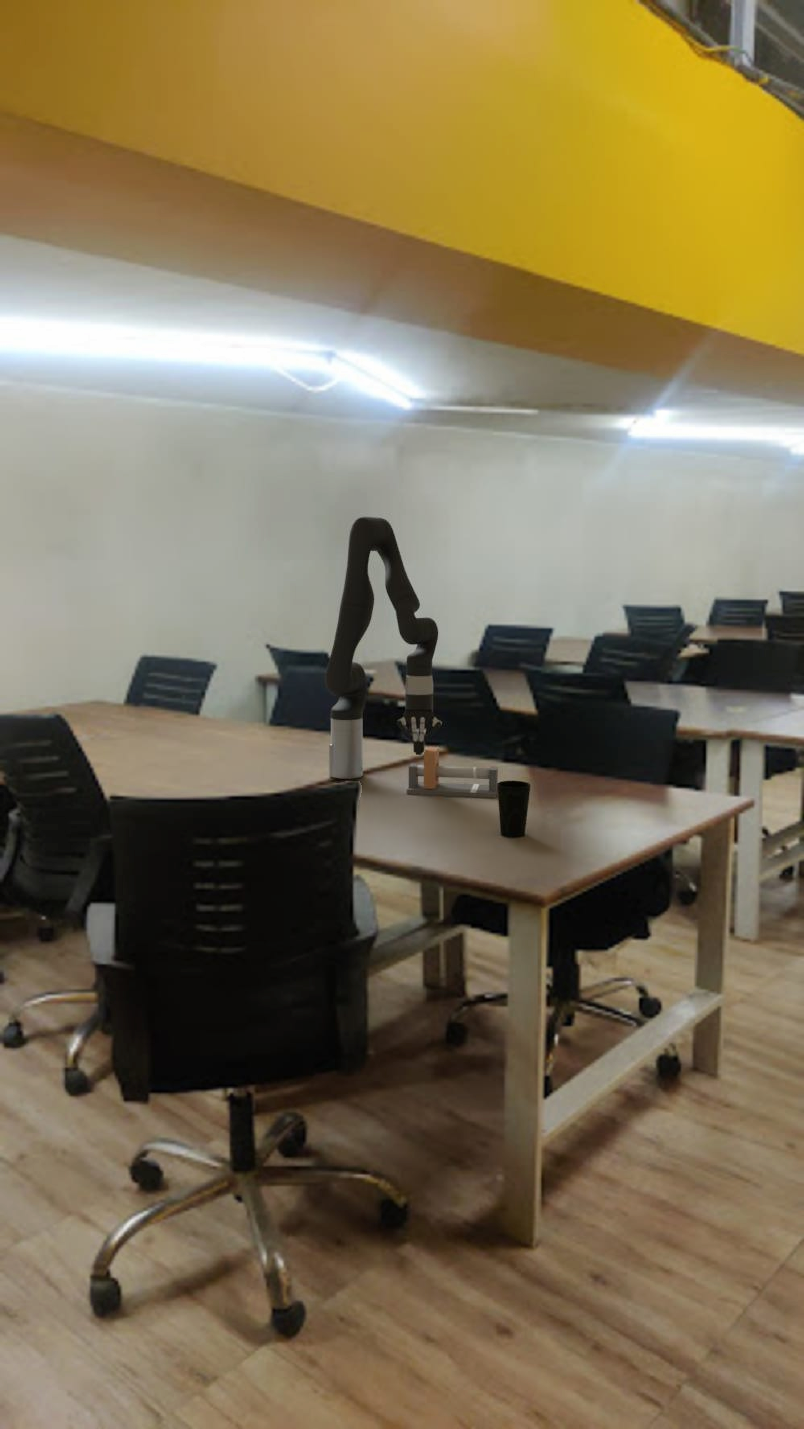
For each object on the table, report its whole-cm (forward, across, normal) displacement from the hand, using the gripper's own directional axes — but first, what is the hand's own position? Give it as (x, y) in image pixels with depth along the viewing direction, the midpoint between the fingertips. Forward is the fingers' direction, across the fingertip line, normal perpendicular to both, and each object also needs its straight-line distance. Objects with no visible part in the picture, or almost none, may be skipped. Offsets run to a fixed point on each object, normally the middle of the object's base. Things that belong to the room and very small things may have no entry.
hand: (419, 754), depth 280 cm
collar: (+9, +3, 0) cm, 9 cm away
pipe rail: (+10, +9, 0) cm, 14 cm away
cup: (+10, +29, -40) cm, 50 cm away
